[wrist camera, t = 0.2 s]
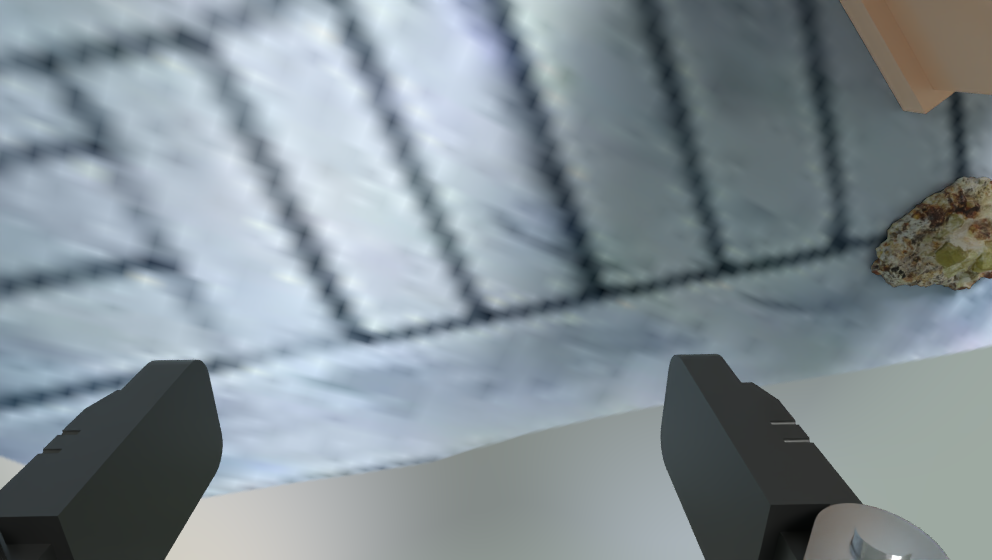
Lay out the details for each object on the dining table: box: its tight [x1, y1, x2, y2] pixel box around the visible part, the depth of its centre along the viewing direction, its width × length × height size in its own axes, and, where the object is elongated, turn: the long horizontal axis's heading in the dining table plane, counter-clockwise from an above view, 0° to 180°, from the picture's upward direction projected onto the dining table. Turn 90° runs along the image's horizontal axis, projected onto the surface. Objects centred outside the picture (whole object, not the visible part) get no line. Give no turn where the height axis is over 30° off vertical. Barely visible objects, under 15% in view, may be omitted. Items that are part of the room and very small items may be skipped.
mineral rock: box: [871, 177, 992, 290], centre depth 40 cm, size 11×4×8 cm
